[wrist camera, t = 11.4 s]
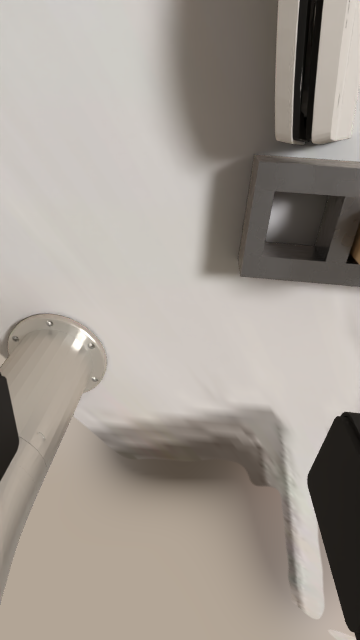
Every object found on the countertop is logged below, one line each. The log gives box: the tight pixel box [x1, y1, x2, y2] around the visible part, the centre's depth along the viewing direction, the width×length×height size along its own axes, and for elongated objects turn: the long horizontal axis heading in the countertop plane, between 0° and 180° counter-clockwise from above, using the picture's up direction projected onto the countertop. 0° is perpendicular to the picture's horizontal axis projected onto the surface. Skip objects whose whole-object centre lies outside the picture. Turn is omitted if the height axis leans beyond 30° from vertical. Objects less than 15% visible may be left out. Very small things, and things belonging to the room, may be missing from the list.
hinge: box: [275, 0, 360, 145], centre depth 22 cm, size 17×5×10 cm, turn 4°
